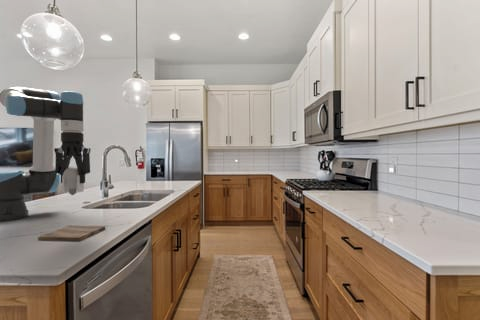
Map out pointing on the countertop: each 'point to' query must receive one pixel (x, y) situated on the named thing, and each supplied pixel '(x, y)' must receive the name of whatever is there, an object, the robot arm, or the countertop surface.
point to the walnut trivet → (72, 233)
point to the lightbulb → (71, 179)
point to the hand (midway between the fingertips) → (73, 191)
